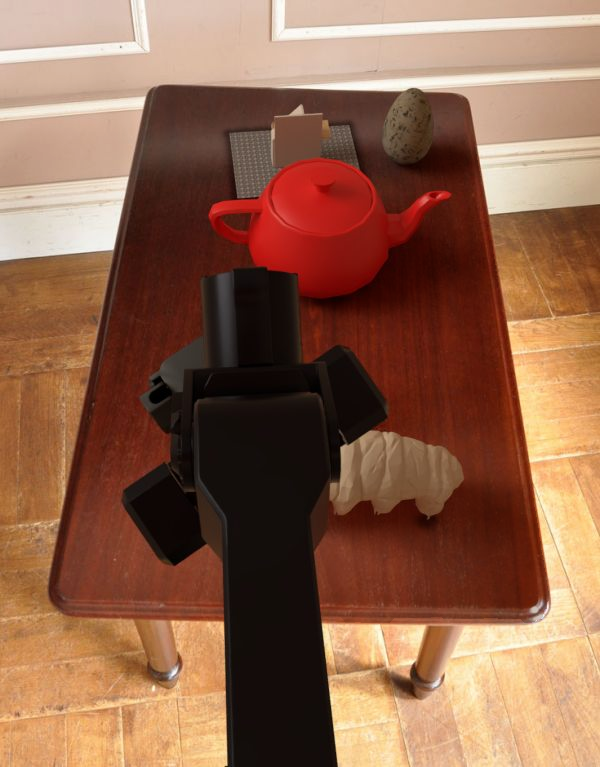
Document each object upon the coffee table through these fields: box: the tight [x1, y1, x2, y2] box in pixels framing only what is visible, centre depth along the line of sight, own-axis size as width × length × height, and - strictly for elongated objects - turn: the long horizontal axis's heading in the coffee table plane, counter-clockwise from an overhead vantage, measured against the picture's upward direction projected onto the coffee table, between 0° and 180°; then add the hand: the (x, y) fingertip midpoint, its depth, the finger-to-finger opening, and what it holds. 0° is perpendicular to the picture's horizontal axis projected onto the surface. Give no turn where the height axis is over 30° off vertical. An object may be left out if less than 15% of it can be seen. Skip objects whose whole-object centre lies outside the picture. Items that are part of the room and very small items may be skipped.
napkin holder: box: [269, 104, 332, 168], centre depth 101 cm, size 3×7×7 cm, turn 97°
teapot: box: [207, 158, 452, 299], centre depth 90 cm, size 25×16×12 cm, turn 92°
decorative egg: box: [381, 87, 435, 166], centre depth 100 cm, size 6×6×10 cm
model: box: [329, 430, 465, 520], centre depth 75 cm, size 7×18×10 cm, turn 90°
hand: (256, 454), depth 67 cm, fingers open, 9 cm apart
